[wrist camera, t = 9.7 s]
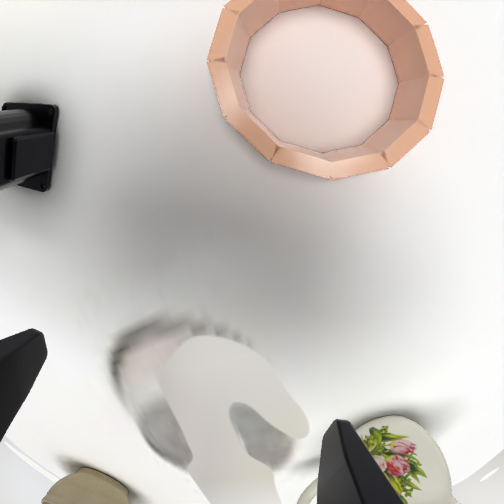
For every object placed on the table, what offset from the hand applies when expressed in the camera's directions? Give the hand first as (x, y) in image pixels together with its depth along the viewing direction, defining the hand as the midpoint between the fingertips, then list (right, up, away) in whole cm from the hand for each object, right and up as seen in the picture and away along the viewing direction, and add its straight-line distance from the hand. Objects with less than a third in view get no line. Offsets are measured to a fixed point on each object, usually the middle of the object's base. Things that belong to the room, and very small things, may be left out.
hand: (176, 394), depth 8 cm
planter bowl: (-24, -36, +32) cm, 54 cm away
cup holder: (+6, +14, +8) cm, 17 cm away
